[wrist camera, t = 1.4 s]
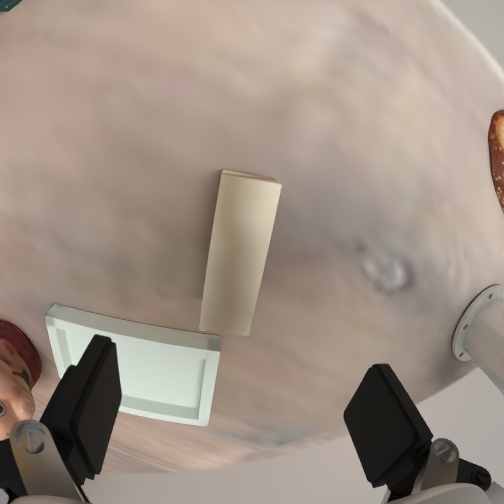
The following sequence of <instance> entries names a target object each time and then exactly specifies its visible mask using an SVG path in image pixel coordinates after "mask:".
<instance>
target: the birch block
mask: <svg viewBox="0 0 504 504" xmlns="http://www.w3.org/2000/svg"><path fill="white" fill-rule="evenodd" d="M281 187H282V184H280V183H279V182H277V181H276V180H275V179H273V178H272V177H267V176H261V175H256V174H250V173H245V172H239V171H233V170H227V169H223V171H222V174H221V180H220V186H219V191H218V197H217V203H216V209H215V216H214V222H213V228H212V235H211V241H210V248H209V255H208V262H207V269H206V276H205V284H204V291H203V299H202V307H201V315H200V323H199V330H202V331H209V332H216V333H224V334H232V335H240V336H249V333H250V329H251V324H252V320H253V315H254V311H255V307H256V302H257V298H258V293H259V289H260V284H261V280H262V275H263V271H264V266H265V262H266V257H267V253H268V248H269V243H270V239H271V234H272V230H273V225H274V220H275V216H276V211H277V206H278V201H279V197H280V192H281Z"/></svg>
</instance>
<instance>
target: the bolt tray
mask: <svg viewBox="0 0 504 504" xmlns="http://www.w3.org/2000/svg"><path fill="white" fill-rule="evenodd" d="M45 319H46V324H47V329H48V334H49V338H50V343H51V347H52V351H53V355H54V358H55V362H56V366H57V369H58V373H59V376H60V379H62V377H63V375H64V373H65V371H66V370H67V368H68V367H69V366H70V365H71V364H72V365H76V366H77V364H78V362H79V360H80V359H81V357H82V355H83V353H84V351H85V350H86V348H87V346H88V344H89V343H90V341H91V339H92V338H93V336H94V335H95V334H99V335H103V336H107V337H110V338H111V339H112V342H115V343H116V347H117V357H118V367H119V375H120V383H121V390H122V400H121V404H120V407H119V410H118V411H122V412H126V413H130V414H135V415H139V416H144V417H149V418H154V419H159V420H165V421H171V422H177V423H184V424H191V425H199V426H208V422H209V416H210V410H211V404H212V398H213V392H214V386H215V380H216V374H217V368H218V362H219V356H220V343H221V336H216V335H209V334H202V333H195V332H188V331H182V330H176V329H170V328H164V327H158V326H153V325H147V324H142V323H137V322H132V321H127V320H122V319H117V318H113V317H108V316H104V315H99V314H95V313H91V312H87V311H82V310H78V309H74V308H70V307H67V306H63V305H59V304H54V306H53V307H52V308H51V309H50V310H49V311H48V312H47V313H46V314H45Z"/></svg>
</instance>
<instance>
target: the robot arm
mask: <svg viewBox="0 0 504 504" xmlns="http://www.w3.org/2000/svg"><path fill="white" fill-rule="evenodd" d="M452 351H453V353H454V355H455V356H456V357H457V359H459V360H460V361H470V360H473V361H474V362H475V363H476V364H477V365H478V366H479V367H480V368H481V369H482V371H483V372H484V373H485V374H486V375H487V376H488V377H489V378H490V380H491V381H492V382H493V383H494V384H495V385H496V386H497V388H498V389H499V390H500V391H501V393H502V394H503V395H504V287H503V286H501V285H495V286H492V287H490V288H488V289H486V290H485V291H483V292H482V293H481V294H480V295H479V296H478V297H477V298H476V299H475V300H474V301H473V302H472V303H471V305H470V306H469V307H468V309H467V310H466V312H465V313H464V315H463V316H462V318H461V320H460V322H459V324H458V326H457V329H456V331H455V334H454V337H453V343H452ZM121 400H122V390H121V383H120V375H119V367H118V357H117V347H116V343H115V342H112V339H111V338H110V337H107V336H103V335H99V334H95V335H94V336H93V338H92V339H91V341H90V343H89V344H88V346H87V348H86V350H85V351H84V353H83V355H82V357H81V359H80V360H79V362H78V364H77V366H76V365H72V364H71V365H70V366H69V367H68V368H67V370H66V371H65V373H64V375H63V377H62V379H61V380H60V382H59V384H58V386H57V388H56V390H55V391H54V393H53V395H52V397H51V399H50V401H49V403H48V405H47V407H46V409H45V411H44V413H43V415H42V417H41V419H40V421H39V422H38V421H36V420H31V419H29V420H22V421H20V422H18V423H17V424H15V425H14V426H13V428H12V429H11V432H10V436H9V437H10V438H8V439H5V440H1V441H0V504H92V503H91V502H90V500H89V498H88V496H87V495H86V493H85V491H84V489H83V488H82V486H81V485H84V482H85V478H88V479H92V480H94V476H95V474H98V475H99V474H100V472H101V469H102V465H103V462H104V458H105V454H106V451H107V447H108V443H109V440H110V436H111V433H112V430H113V426H114V423H115V420H116V416H117V413H118V410H119V407H120V404H121ZM344 421H345V423H346V426H347V428H348V431H349V433H350V436H351V438H352V441H353V444H354V446H355V449H356V451H357V454H358V456H359V459H360V462H361V464H362V467H363V470H364V472H365V475H366V478H367V480H368V481H369V482H370V483H371V484H372V486H373V488H376V487H380V486H383V485H385V484H387V487H388V488H387V491H386V493H385V496H384V498H383V501H382V503H381V504H504V488H503V487H501V486H500V485H498V484H497V483H496V482H494V481H493V482H492V483H491V476H490V474H489V472H488V471H487V470H486V469H485V468H483V467H481V466H478V465H476V464H473V463H471V462H468V461H466V460H463V459H461V458H459V451H458V448H457V446H456V445H455V444H454V443H453V442H452V441H450V440H448V439H445V438H438V439H436V440H434V442H432V441H431V439H432V438H433V434H432V433H431V431H430V429H429V427H428V426H427V424H426V422H425V421H424V419H423V418H422V417H421V414H420V413H419V411H418V409H417V408H416V406H415V405H414V403H413V401H412V400H411V398H410V397H409V395H408V393H407V392H406V390H405V389H404V387H403V385H402V384H401V382H400V381H399V379H398V378H397V376H396V375H395V373H394V372H393V370H392V368H391V367H390V366H389V364H374V365H372V367H371V368H369V369H368V371H367V373H366V374H365V376H364V378H363V380H362V382H361V383H360V385H359V387H358V389H357V391H356V392H355V394H354V396H353V397H352V399H351V401H350V403H349V404H348V406H347V408H346V409H345V411H344Z"/></svg>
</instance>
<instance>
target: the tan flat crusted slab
mask: <svg viewBox="0 0 504 504" xmlns="http://www.w3.org/2000/svg"><path fill="white" fill-rule="evenodd" d="M488 142H489V145H490V150H491V159H492V163H491V166H492V175H493V181H494V186H495V190H496V193H497V196H498V199H499V202H500V204H501V207H502V210H503V212H504V111H500V112H495V113H494V114H493V116H492V119H491V123H490V127H489V132H488Z"/></svg>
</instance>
